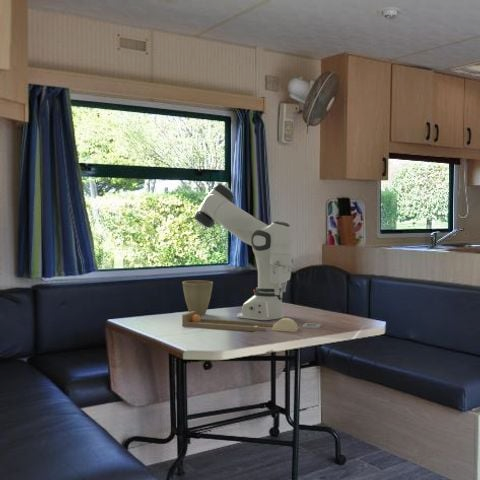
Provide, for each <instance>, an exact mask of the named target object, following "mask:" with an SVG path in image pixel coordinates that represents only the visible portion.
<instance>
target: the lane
mask: <svg viewBox="0 0 480 480" xmlns="http://www.w3.org/2000/svg"><path fill="white" fill-rule="evenodd" d="M193 315H196V311H191V312H189V311H188V312H185V313H183V314H182V316H181V317H182V321H181V322H182V324H181V326H182V327H190V328H191V327H192V328H204V329H214V330H215V329H216V330H230V331H242V332H243V331H244V332H256V331H262V332H263V331H264V332H266V331H267V327H271V331H279V332H293V333H295V332H296V331H298V330H299V326H298V323H297V322H296V321H295V320H294V319H292V318H289V317H283V318H280V319H279V320H277V321H276V322H275V323H273V322H259V321H244V320H227V319H215V318H203V317H202V318H201V321H200V322H199V323H194V322H192V317H193Z"/></svg>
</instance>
